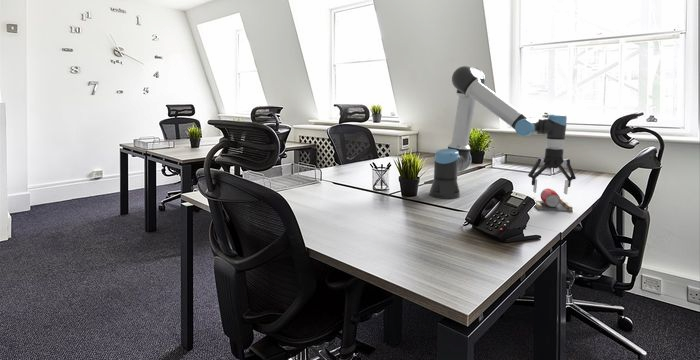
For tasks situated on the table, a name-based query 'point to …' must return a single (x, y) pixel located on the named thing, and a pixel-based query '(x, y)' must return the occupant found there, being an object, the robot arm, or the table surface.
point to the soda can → (550, 197)
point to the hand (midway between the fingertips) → (549, 193)
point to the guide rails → (560, 202)
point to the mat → (556, 208)
